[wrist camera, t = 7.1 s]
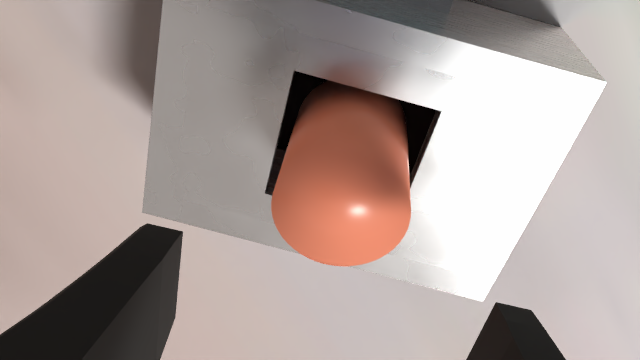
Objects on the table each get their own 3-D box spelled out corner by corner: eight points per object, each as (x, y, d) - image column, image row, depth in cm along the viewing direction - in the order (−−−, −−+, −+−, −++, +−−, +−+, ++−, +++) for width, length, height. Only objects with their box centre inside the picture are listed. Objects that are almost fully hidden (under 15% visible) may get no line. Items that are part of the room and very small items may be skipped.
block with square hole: (567, 15, 16) (614, 68, 13) (467, 220, 20) (482, 301, 17) (216, -85, 16) (168, -59, 12) (185, 144, 19) (142, 212, 16)
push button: (422, 93, 15) (431, 173, 12) (387, 186, 17) (386, 279, 13) (311, 62, 15) (287, 134, 11) (286, 159, 16) (259, 246, 13)
